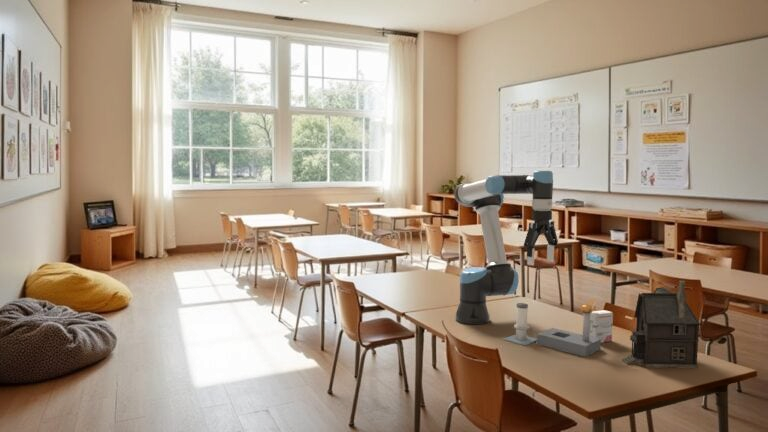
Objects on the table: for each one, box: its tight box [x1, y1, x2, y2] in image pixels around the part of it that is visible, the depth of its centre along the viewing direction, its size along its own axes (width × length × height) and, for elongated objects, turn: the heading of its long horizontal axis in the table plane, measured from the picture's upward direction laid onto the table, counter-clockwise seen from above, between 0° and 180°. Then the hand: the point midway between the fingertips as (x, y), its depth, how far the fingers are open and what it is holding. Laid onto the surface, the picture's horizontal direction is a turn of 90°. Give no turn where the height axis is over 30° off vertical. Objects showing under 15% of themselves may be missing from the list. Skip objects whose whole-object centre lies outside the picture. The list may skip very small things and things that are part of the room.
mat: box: [503, 333, 537, 346], centre depth 222 cm, size 10×10×1 cm
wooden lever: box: [581, 298, 598, 314], centre depth 213 cm, size 16×4×5 cm, turn 149°
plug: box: [513, 302, 530, 341], centre depth 222 cm, size 6×6×14 cm
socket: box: [536, 312, 602, 358], centre depth 214 cm, size 20×12×15 cm, turn 44°
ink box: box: [589, 309, 614, 343], centre depth 221 cm, size 9×5×12 cm, turn 112°
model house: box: [621, 280, 702, 369], centre depth 199 cm, size 16×23×30 cm
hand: (540, 263), depth 221 cm, fingers open, 13 cm apart
